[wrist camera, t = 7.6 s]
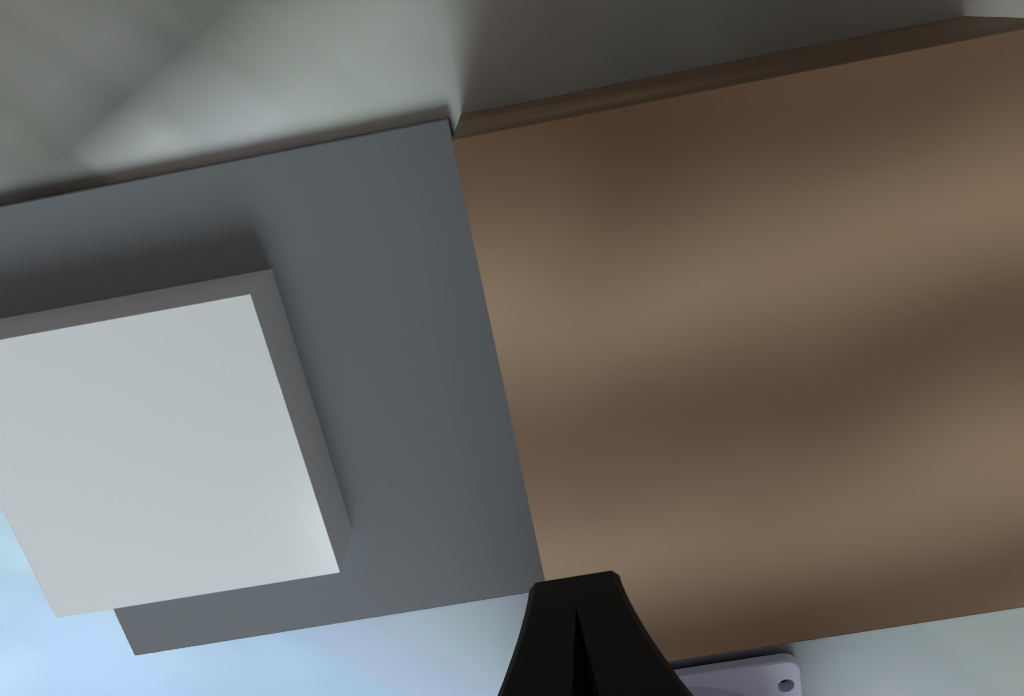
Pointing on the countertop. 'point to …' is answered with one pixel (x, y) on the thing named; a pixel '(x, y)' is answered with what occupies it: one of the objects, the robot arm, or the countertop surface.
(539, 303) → the flat brown box
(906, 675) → the countertop surface
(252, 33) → the countertop surface
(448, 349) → the mat
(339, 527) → the tile
